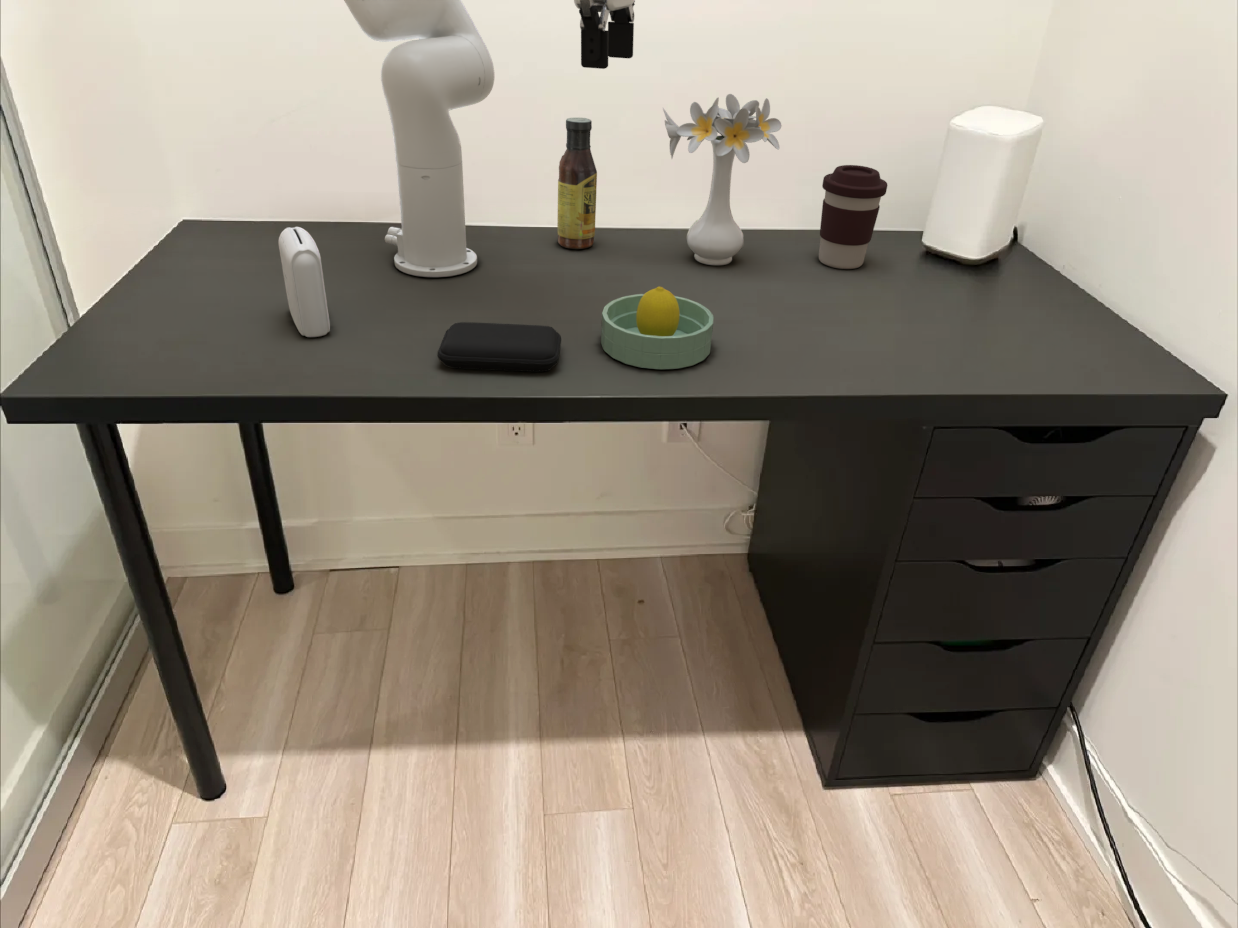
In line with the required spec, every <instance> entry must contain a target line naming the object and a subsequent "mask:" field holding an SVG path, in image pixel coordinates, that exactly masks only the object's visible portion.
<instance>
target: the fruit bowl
mask: <svg viewBox="0 0 1238 928" xmlns="http://www.w3.org/2000/svg"><path fill="white" fill-rule="evenodd" d="M644 294H645V293H637V294H631V295H625V296H622V297H621V296H620V297H618V298H616V299H613V300H611V301H609V302H608V303H607V304H606V305H604V307H603V310H602V312H601V333H600V344H601V347H602V349H603V351H604V352H605V353H606V354H607V355H608V356H609V357H611V358H612V359H615V360H616V361H619V362H621V363H623V364H625V365H629V366H633V367H636V368H642V369H650V370H651V369H652V370H677V369H683V368H687V367H692V366H694V365H697V364H698V363H701V362H703V361H705V359H706V358H707V357H708V356H709V355H710V353H711V347H712V337H713V330H714V329H713V328H714V318H715V316H714V315H713V313H712V312H711V310H710V309H709V308H707V307H706V306H704V305H703V304H701V303H700V302H697V301H694V300H692V299H689V298H686V297H681V296H677V295H674V296H675V298H676V300H677V302H678V306H679V313H680V316H679V323H678V327H677V330H676V332H675V333H674V335H673V336H653V335H644V334H640V332H639V330H638V327H637V322H636V314H637V308H638V305H639V302H640V300H641V298H642V297H643V295H644Z"/></svg>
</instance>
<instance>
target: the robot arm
mask: <svg viewBox="0 0 1238 928" xmlns="http://www.w3.org/2000/svg"><path fill="white" fill-rule="evenodd" d="M343 1H344V3H345V5H346V6H347V8H348V10H349V12H350V14H351V15H352V17H353V18H354V21H355V22H356V24H357V25H358V26H359V28H360V29H361V31H362V32H363V33H364V34H365V35H366V36H367V37H368V38H369V39H371V40H374V41H376V42H380V43H381V42H382V43H384V42H385V43H387V42H399V41H400V42H401V41H405V42H402V43H400V44H398V45H395V46H394V47H393V48H391V50H389V52H388V53H387V54H386V55H385V56H384V59H383V61H382V64H381V69H380V83H381V88H382V92H383V93H382V94H383V96H384V100H385V103H386V106H387V111H388V115H389V118H390V119H389V120H390V124H391V130H392V138H393V147H394V157H395V168H396V178H397V191H398V201H399V212H400V213H399V215H400V223H401V228H400V227H395V226H390V227H389V228H388V230H387V233H386V235H385V236H384V243H385V244H387V245H393V246H394V245H395V246H397V252H396V254H395V255H394V256H393V260H394V261H393V262H394V266H395V268H396V269H397V270H399V272H402V273H404V274H407V275H410V276H414V277H420V278H448V277H454V276H455V277H456V276H459V275H462V274H466V273H468V272H471V271H472V270H473V269H475V267H477V265H478V255H477V253H476V252H475V251H473V250H472V249H470V248H468V247H467V234H466V233H467V231H466V229H467V228H466V211H465V210H466V208H465V186H464V169H463V152H462V150H463V149H462V144H461V143H462V142H461V139H460V136H459V133H458V130H457V128H456V126H455V125H454V122H453V120H452V118H451V115H450V111H453V110H457V109H461V108H465V107H468V106H469V107H470V106H473V105H476V104H478V103H481V102H482V101H484V100H485V99H486V98H487V97H488V96H489V95H490V93H491V92H492V91H493V87H494V84H495V67H494V63H493V59H492V57H491V56H492V55H491V53H490V51H489V49H488V47H487V45H486V43H485V41H484V39H483V37H482V35H481V33H480V32H479V30H478V27H477V26H476V25H475V22H474V20H473V18H472V17H471V15H470V13H469V11H468V10H467V8H466V6H465V4H464V3H463V1H462V0H343ZM573 3H574V6H575V7H576V8H577V9H578V13H579V15H580V19H579V28H580V66H581V67H582V68H585V69H586V68H587V69H598V70H599V69H600V70H601V69H602V70H604V69H608V67H609V58H614V59H615V58H616V59H632V58H633V56H634V36H635V35H634V32H635V23H634V22H635V10H634V6H635V5H636V4H635V3H636V0H573ZM599 13H600V14H599ZM609 17H610V21H608V19H609ZM606 27H607V29H606Z"/></svg>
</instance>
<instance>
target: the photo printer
mask: <svg viewBox="0 0 1238 928" xmlns="http://www.w3.org/2000/svg"><path fill="white" fill-rule="evenodd" d="M277 242H278V243H277V244H278V249H279V257H280V262H281V268H282V275H283V280H284V287H285V293H286V298H287V304H288V309H289V312H290V316H291V318H292V321H293V323H294V325H295V327H296V329H297V330H298V332H299V333H300V335H301V336H302V337H303V336H305V337H307V338H317V337H318V338H319V337H322V336H326V335H327V334H328V333H330V331H331V321H330V315H329V308H328V301H327V294H326V286H325V280H324V272H323V264H322V257H321V253H320V250H319V248H318V245H317V243H316V241H315V239H314V238H313V236H312V235H311V234H310V232H308V230H306V229H304V228H302V227H300V226H294V227H286V228H284V229H283V230H282V231H281V233H280V234H279V237H278V241H277Z"/></svg>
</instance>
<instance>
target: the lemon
mask: <svg viewBox="0 0 1238 928" xmlns="http://www.w3.org/2000/svg"><path fill="white" fill-rule="evenodd" d="M643 294H644V295H643V297H642V298H641V300H640V302H639V305H638V308H637V314H636V322H637V327H638V330H639V332H640V334H644V335H653V336H673V335H674V333H675V332H676V330H677V327H678V323H679V316H680V313H679V306H678V302H677V300H676V298H675V296H676V295H674V294H673V293H672V292H671V291H669V290H668V289H665V288H664V287H663V286H657V287H655V288H652V289H650V290H648V291H647V292H645V293H643Z"/></svg>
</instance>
